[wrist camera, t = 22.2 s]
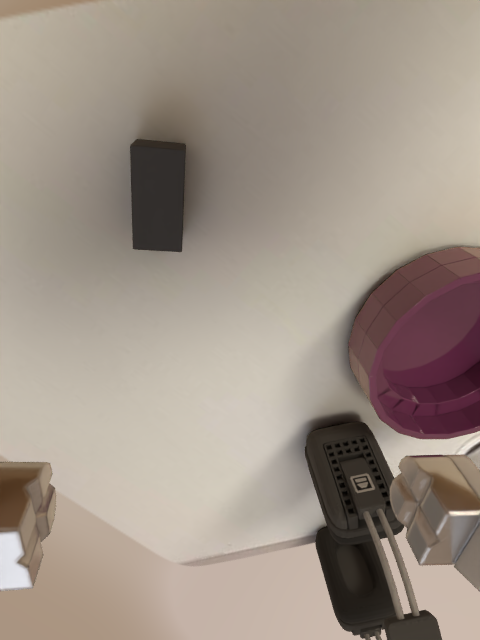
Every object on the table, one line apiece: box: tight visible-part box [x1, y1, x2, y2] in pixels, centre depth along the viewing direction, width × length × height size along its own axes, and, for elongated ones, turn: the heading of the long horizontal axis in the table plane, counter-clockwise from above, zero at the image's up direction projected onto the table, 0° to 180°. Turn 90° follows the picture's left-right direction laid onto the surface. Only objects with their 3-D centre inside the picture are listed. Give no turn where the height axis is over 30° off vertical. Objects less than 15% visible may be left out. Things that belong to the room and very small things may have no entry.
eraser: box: [130, 139, 186, 252], centre depth 25 cm, size 6×3×3 cm, turn 174°
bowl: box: [348, 247, 480, 439], centre depth 32 cm, size 15×15×5 cm
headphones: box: [305, 422, 442, 640], centre depth 35 cm, size 22×6×20 cm, turn 9°
